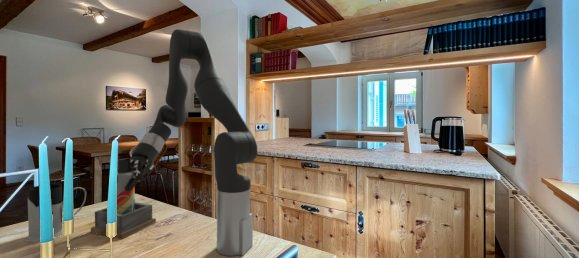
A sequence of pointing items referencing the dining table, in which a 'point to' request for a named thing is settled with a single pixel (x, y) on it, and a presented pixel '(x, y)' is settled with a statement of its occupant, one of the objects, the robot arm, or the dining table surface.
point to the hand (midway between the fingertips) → (119, 189)
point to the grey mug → (56, 209)
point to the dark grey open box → (125, 221)
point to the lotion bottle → (123, 196)
